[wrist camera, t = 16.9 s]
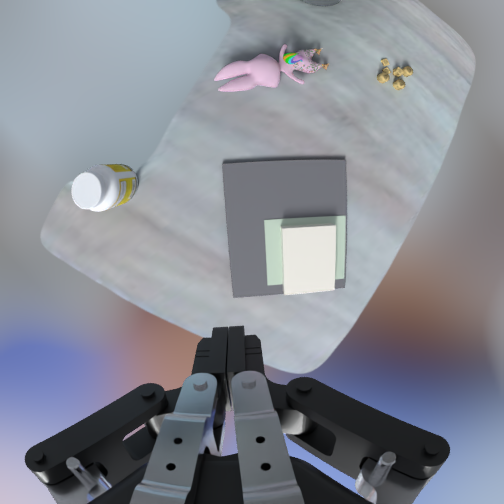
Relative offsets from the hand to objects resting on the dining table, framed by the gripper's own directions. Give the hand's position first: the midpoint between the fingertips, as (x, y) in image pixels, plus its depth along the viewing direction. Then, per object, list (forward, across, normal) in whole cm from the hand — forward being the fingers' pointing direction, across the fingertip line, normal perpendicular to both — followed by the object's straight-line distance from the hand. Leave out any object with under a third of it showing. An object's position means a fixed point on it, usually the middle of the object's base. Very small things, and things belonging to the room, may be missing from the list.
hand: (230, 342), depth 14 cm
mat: (+25, -7, 0) cm, 26 cm away
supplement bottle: (+25, +15, -8) cm, 30 cm away
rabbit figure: (+25, -6, -21) cm, 34 cm away
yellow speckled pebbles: (+26, -24, -22) cm, 42 cm away
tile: (+24, -9, -1) cm, 25 cm away
